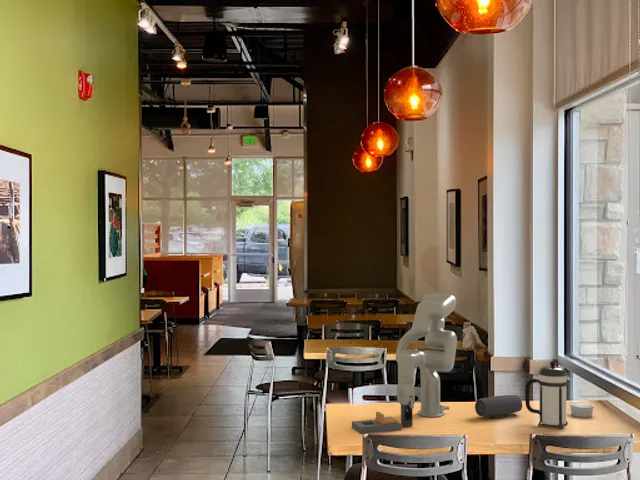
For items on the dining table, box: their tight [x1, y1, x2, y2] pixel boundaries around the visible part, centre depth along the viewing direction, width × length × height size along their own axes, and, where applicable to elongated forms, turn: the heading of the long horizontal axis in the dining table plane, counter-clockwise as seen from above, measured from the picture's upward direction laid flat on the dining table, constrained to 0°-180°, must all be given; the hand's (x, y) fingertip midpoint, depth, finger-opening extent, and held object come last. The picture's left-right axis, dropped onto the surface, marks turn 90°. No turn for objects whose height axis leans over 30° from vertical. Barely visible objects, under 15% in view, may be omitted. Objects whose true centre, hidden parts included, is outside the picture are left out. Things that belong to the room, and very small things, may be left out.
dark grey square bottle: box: [400, 403, 413, 428], centre depth 333 cm, size 4×4×12 cm
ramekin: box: [569, 401, 595, 418], centre depth 353 cm, size 11×11×5 cm
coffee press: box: [524, 361, 571, 431], centre depth 333 cm, size 17×16×30 cm
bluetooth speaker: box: [474, 394, 523, 418], centre depth 351 cm, size 23×9×10 cm, turn 115°
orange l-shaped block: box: [374, 411, 399, 424], centre depth 329 cm, size 8×8×4 cm
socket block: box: [351, 418, 402, 435], centre depth 328 cm, size 20×11×3 cm, turn 108°
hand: (406, 418), depth 333 cm, fingers closed on dark grey square bottle, 4 cm apart
